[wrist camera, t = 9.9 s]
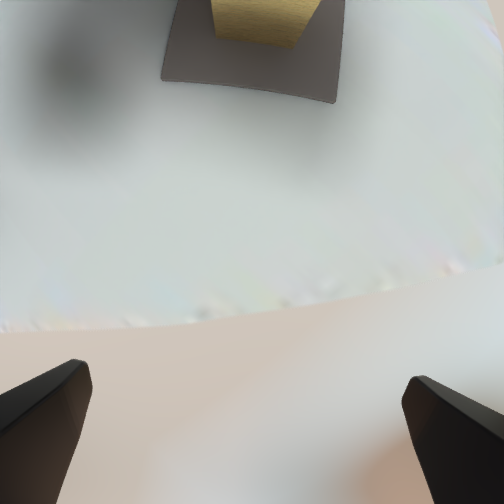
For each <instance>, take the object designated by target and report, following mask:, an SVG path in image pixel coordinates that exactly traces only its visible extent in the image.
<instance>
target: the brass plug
mask: <svg viewBox="0 0 504 504" xmlns="http://www.w3.org/2000/svg"><path fill="white" fill-rule="evenodd" d="M320 1H321V0H211V4H212V12H213V19H214V26H215V34H216V38H221V39H231V40H239V41H247V42H254V43H260V44H267V45H273V46H278V47H284V48H289V49H293V48H294V46H295V44H296V43H297V41H298V39H299V37H300V36H301V34H302V32H303V30H304V29H305V27H306V25H307V23H308V22H309V20H310V18H311V16H312V15H313V13H314V11H315V10H316V8H317V6H318V4H319V3H320Z"/></svg>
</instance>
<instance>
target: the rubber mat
mask: <svg viewBox="0 0 504 504" xmlns="http://www.w3.org/2000/svg"><path fill="white" fill-rule="evenodd" d="M344 9H345V0H321V1H320V3H319V4H318V6H317V8H316V10H315V11H314V13H313V15H312V16H311V18H310V20H309V22H308V23H307V25H306V27H305V29H304V30H303V32H302V34H301V36H300V37H299V39H298V41H297V43H296V44H295V46H294V48H293V49H289V48H284V47H278V46H273V45H267V44H260V43H254V42H247V41H239V40H231V39H221V38H216V34H215V26H214V19H213V12H212V4H211V0H178V4H177V8H176V12H175V16H174V20H173V24H172V28H171V32H170V36H169V41H168V45H167V50H166V54H165V59H164V64H163V69H162V74H161V79H162V81H174V82H191V83H205V84H216V85H226V86H235V87H243V88H251V89H258V90H264V91H271V92H277V93H283V94H288V95H294V96H299V97H304V98H309V99H314V100H319V101H323V102H328V103H332V104H333V103H335V102H336V96H337V87H338V78H339V69H340V58H341V48H342V36H343V23H344Z"/></svg>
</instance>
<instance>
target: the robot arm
mask: <svg viewBox="0 0 504 504" xmlns="http://www.w3.org/2000/svg"><path fill="white" fill-rule="evenodd" d="M91 395H92V381H91V377H90V372H89V367H88V364H87V363H86V362H85V361H82V360H77V359H71V360H69V361H67V362H66V363H63V364H61V365H59V366H57V367H55V368H53V369H51V370H49V371H47V372H45V373H43V374H41V375H39V376H37V377H35V378H33V379H31V380H30V381H27V382H25V383H23V384H21V385H19V386H17V387H15V388H13V389H11V390H9V391H7V392H5V393H3V394H1V395H0V504H56V502H57V499H58V496H59V493H60V490H61V487H62V484H63V481H64V479H65V476H66V473H67V470H68V467H69V465H70V462H71V459H72V457H73V454H74V451H75V449H76V446H77V444H78V441H79V438H80V435H81V431H82V427H83V424H84V420H85V416H86V412H87V409H88V405H89V402H90V398H91ZM402 408H403V411H404V415H405V418H406V421H407V425H408V429H409V433H410V436H411V440H412V443H413V446H414V449H415V452H416V454H417V457H418V460H419V462H420V465H421V468H422V470H423V473H424V476H425V479H426V481H427V484H428V487H429V490H430V493H431V495H432V499H433V501H434V504H504V415H502V414H500V413H498V412H496V411H494V410H492V409H490V408H488V407H486V406H484V405H482V404H480V403H478V402H476V401H474V400H472V399H470V398H468V397H466V396H464V395H462V394H460V393H458V392H456V391H454V390H452V389H450V388H448V387H446V386H444V385H442V384H440V383H438V382H436V381H434V380H432V379H431V378H429V377H427V376H423V375H422V376H414V377H412V378H411V379H410V381H409V383H408V386H407V388H406V390H405V392H404V394H403V397H402Z"/></svg>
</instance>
